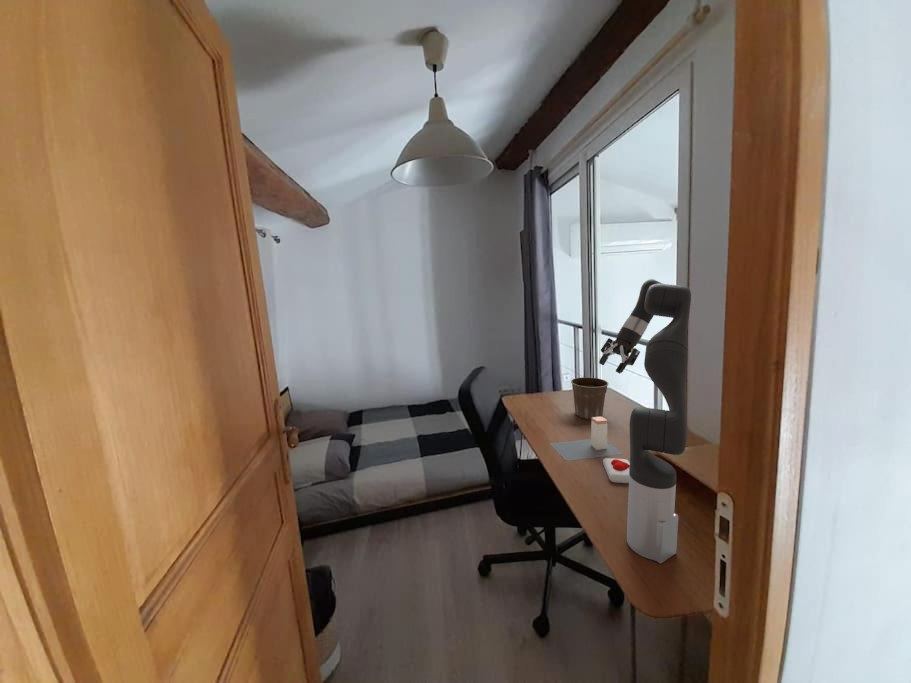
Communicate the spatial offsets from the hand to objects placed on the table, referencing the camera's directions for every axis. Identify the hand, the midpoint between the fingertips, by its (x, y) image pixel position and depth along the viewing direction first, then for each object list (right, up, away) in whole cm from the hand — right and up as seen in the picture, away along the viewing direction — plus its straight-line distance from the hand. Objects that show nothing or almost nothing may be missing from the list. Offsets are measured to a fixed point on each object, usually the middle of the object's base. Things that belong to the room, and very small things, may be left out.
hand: (609, 368), depth 130 cm
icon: (-4, -33, -18) cm, 38 cm away
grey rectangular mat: (-10, -30, -2) cm, 32 cm away
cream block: (-4, -29, -1) cm, 30 cm away
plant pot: (+5, -25, +32) cm, 41 cm away
